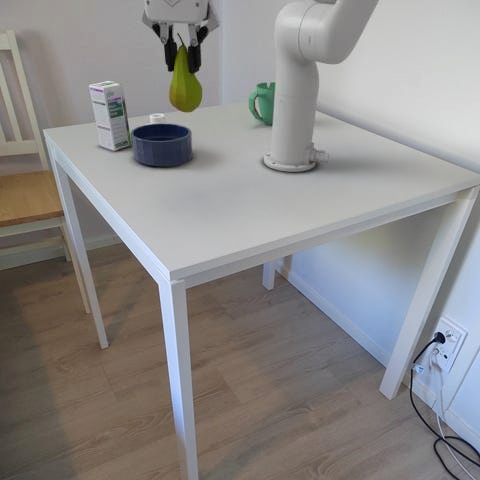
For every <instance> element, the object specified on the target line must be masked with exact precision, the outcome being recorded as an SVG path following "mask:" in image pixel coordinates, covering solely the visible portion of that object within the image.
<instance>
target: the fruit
mask: <svg viewBox="0 0 480 480" xmlns="http://www.w3.org/2000/svg"><path fill="white" fill-rule="evenodd" d="M176 35H177V36H178V38H179V40H180V42H181V45H179V46H178V48H177V51H178V52H177V55H176V58H175V64H174V71H172V72H173V73H172V78H171V81H170V84H169V90H168V99H169V102H170V104H171V106H172V107H174V108H175V109H177V110H178V111H180V112H182V113H186V114H187V113H188V114H189V113H192V112H194V111H195V110H197V109H198V108H199V107H200V105H201V103H202V100H203V86H202V84H201V83H200V81H199V80H198V77H197V76H196V73H194V74H191V73H190V72H189V61H188V47H187V46H186V45H185V42H184V40H183V39H182V36H181V34H179V32H177V33H176Z"/></svg>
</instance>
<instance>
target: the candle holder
mask: <svg viewBox="0 0 480 480" xmlns="http://www.w3.org/2000/svg"><path fill="white" fill-rule="evenodd" d="M158 123H167V124H171V122H169V123H168V122H166V115H165V114H163V113H152V114H149V123H146V124H145V125H148V124H158Z"/></svg>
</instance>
